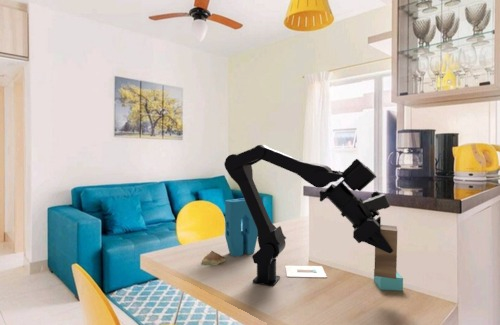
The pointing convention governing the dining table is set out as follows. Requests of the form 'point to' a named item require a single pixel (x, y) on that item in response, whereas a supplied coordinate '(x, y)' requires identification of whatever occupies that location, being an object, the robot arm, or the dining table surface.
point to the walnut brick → (387, 254)
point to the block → (239, 228)
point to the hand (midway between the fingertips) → (391, 249)
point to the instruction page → (305, 271)
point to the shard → (213, 258)
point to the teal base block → (389, 282)
